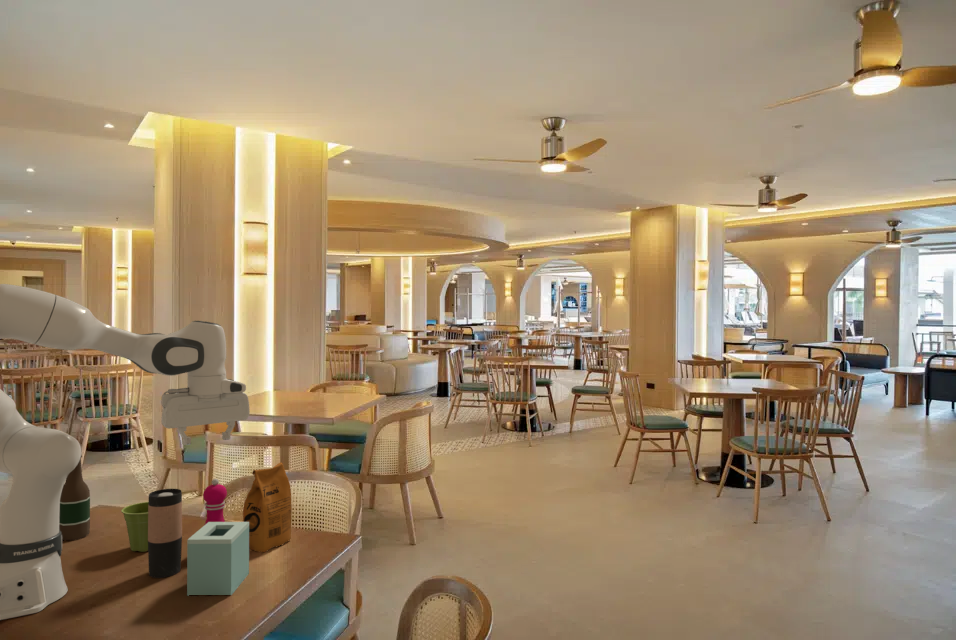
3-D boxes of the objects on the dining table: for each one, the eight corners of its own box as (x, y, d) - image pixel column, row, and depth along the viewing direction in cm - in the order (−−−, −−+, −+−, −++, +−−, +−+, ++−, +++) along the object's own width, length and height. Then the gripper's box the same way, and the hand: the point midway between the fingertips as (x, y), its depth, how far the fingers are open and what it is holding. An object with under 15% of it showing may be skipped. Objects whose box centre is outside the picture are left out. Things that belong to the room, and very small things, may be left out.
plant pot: (178, 544, 172) (179, 504, 172) (138, 559, 161) (138, 516, 161) (152, 537, 177) (152, 498, 177) (111, 550, 167) (111, 509, 167)
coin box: (231, 595, 141) (231, 539, 140) (187, 595, 140) (187, 539, 140) (248, 573, 152) (249, 521, 152) (208, 573, 152) (208, 521, 152)
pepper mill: (234, 547, 170) (234, 475, 169) (220, 557, 162) (220, 482, 162) (209, 546, 170) (209, 474, 170) (194, 556, 163) (195, 481, 163)
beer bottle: (72, 531, 181) (72, 450, 181) (96, 532, 180) (96, 451, 180) (51, 540, 174) (51, 456, 174) (75, 542, 173) (75, 457, 173)
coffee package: (236, 548, 169) (237, 469, 169) (271, 534, 180) (272, 460, 180) (261, 555, 164) (262, 473, 164) (296, 540, 175) (296, 464, 175)
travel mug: (140, 575, 151) (140, 495, 151) (165, 564, 158) (166, 487, 158) (163, 580, 148) (164, 498, 148) (188, 568, 155) (189, 490, 155)
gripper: (165, 390, 142) (165, 450, 142) (252, 384, 155) (252, 438, 156) (157, 388, 146) (157, 445, 146) (242, 382, 160) (242, 434, 160)
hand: (206, 442), depth 151 cm, fingers open, 8 cm apart
